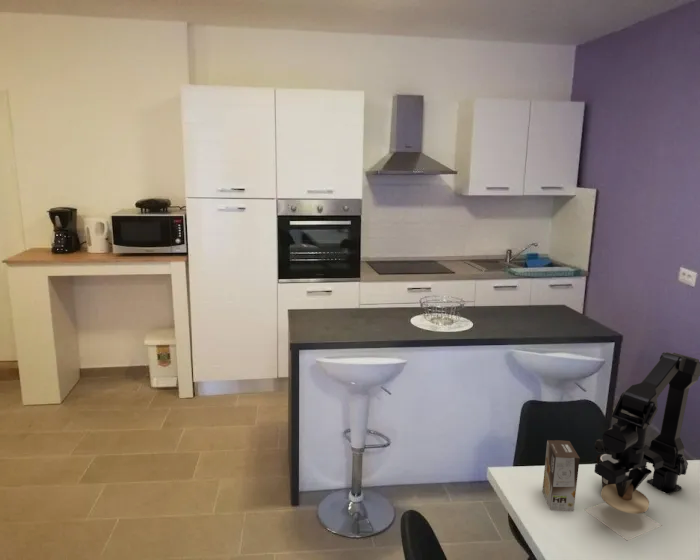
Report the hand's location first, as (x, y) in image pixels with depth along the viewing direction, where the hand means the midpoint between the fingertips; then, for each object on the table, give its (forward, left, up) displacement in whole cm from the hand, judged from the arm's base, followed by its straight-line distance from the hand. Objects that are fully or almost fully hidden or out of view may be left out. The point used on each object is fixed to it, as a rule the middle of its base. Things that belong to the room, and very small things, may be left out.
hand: (625, 494), depth 139 cm
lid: (0, 0, -2) cm, 2 cm away
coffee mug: (-8, -9, -7) cm, 14 cm away
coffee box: (+10, -13, -8) cm, 18 cm away
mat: (0, 0, -7) cm, 7 cm away
